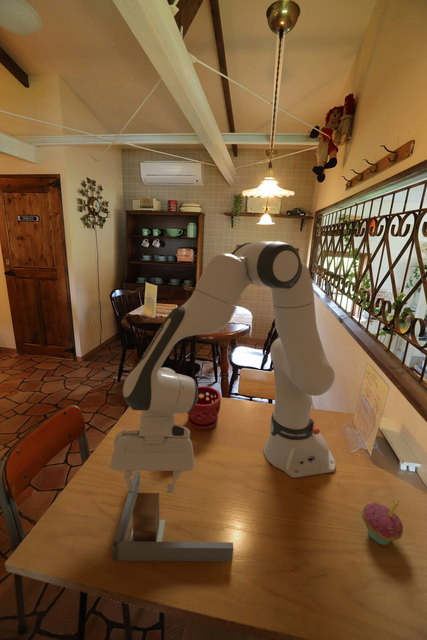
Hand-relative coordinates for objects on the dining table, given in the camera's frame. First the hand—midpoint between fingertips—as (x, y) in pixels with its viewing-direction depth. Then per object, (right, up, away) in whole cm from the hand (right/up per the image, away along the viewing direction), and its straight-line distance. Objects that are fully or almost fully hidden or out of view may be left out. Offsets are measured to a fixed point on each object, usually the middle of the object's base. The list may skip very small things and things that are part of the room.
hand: (150, 492), depth 67 cm
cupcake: (+56, -12, +2) cm, 57 cm away
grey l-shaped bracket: (+7, -9, +5) cm, 12 cm away
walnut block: (-1, -10, 0) cm, 10 cm away
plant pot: (+11, +2, +41) cm, 43 cm away
